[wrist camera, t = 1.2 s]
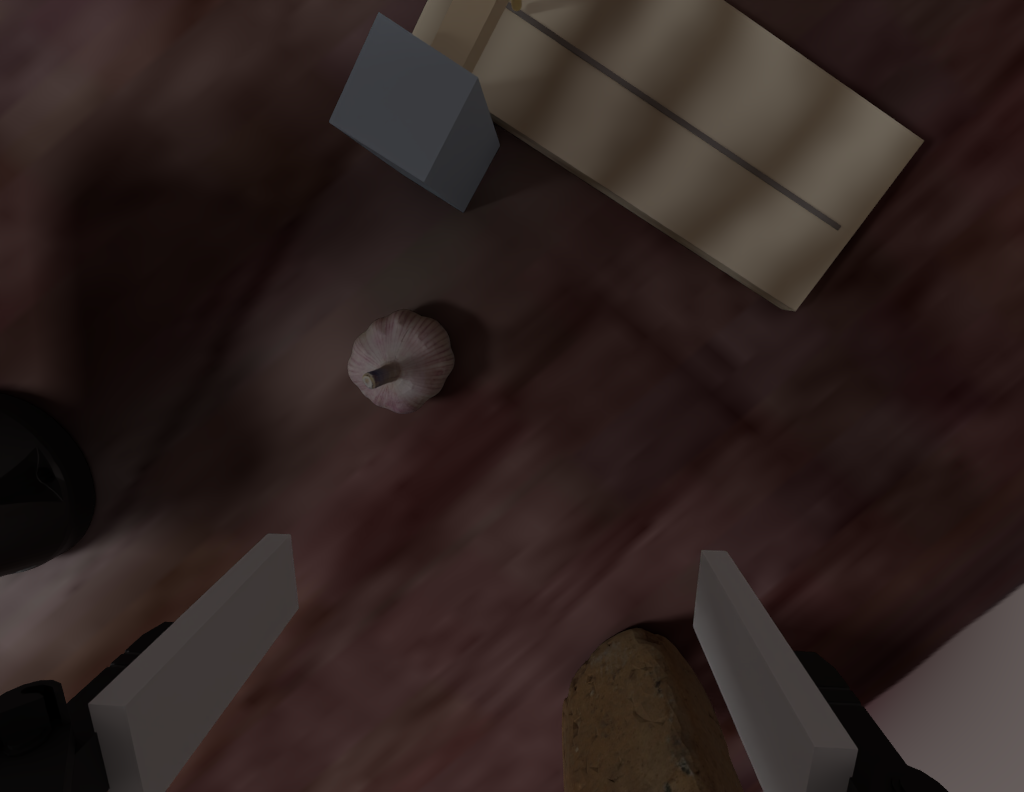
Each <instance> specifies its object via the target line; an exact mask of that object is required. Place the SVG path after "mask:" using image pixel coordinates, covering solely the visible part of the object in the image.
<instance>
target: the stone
mask: <svg viewBox="0 0 1024 792" xmlns="http://www.w3.org/2000/svg"><path fill="white" fill-rule="evenodd" d="M562 748H563V770H564V792H744V791H743V789H742V786H741V784H740V781H739V779H738V777H737V774H736V772H735V769H734V767H733V765H732V762H731V759H730V757H729V752H728V747H727V744H726V741H725V739H724V736H723V733H722V730H721V728H720V725H719V722H718V720H717V717H716V715H715V712H714V710H713V707H712V705H711V703H710V700H709V698H708V696H707V694H706V692H705V690H704V688H703V686H702V684H701V683H700V681H699V680H698V678H697V676H696V675H695V673H694V671H693V670H692V668H691V666H690V665H689V664H688V662H687V661H686V660H685V658H684V657H683V656H682V655H681V653H680V652H679V651H678V650H677V648H676V647H675V646H674V645H673V644H672V643H671V642H670V641H669V640H668V639H667V638H665V637H663V636H661V635H659V634H652V633H650V632H648V631H646V630H644V629H642V628H633V629H629V630H626V631H623V632H621V633H618V634H617V635H615V636H613V637H611V638H610V639H608V640H606V641H605V642H603V643H602V644H601V645H600V646H599V647H598V648H597V649H596V650H595V651H594V652H593V653H592V654H591V656H590V659H589V660H588V661H586V662H585V663H584V664H583V665H582V666H581V667H580V669H579V670H578V671H577V673H576V674H575V677H574V678H573V679H572V682H571V685H570V689H569V694H568V697H567V698H566V699H565V700H564V703H563V713H562Z"/></svg>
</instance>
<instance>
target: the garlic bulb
mask: <svg viewBox="0 0 1024 792" xmlns="http://www.w3.org/2000/svg"><path fill="white" fill-rule="evenodd" d="M454 361H455V358H454V354H453V352H452V349H451V346H450V339H449V335H448V334H447V332H446V330H445V329H444V328H443V327H442V326H441V325H440V324H439V323H438V322H437V321H436V320H434V319H432V318H430V317H423V316H420V315H418V314H417V313H415V312H413V311H411V310H407V309H402V310H398V311H395V312H394V313H392V314H391V315H389V316H386V317H383V318H379V319H377V320H375V321H374V322H373V323H372V324H371V325H370V327H369V328H368V330H367V331H366V332H364V333H363V334H361V335H360V336H359V337H358V338H357V339H356V340H355V342H354V345H353V351H352V355H351V357H350V359H349V362H348V373H349V376H350V378H351V380H352V381H353V382H354V383H355V384H356V385H357V386H358V387H359V388H360V390H361V391H362V393H363V394H364V395H365V396H366V397H367V398H369V399H370V400H371V401H372V402H373V403H374V404H375V405H377V406H379V407H384V408H387V409H389V410H392V411H393V412H396V413H400V414H407V413H411V412H414V411H416V410H418V409H419V408H420V407H421V406H422V405H423V404H424V403H425V402H426V401H427V400H428V399H430V398H431V397H433V396H435V395H436V394H438V393H439V392H440V390H441V389H442V387H443V385H444V382H445V380H446V378H447V377H448V375H449V374H450V373H451V371H452V370H453V367H454Z"/></svg>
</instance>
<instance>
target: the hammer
mask: <svg viewBox="0 0 1024 792" xmlns="http://www.w3.org/2000/svg"><path fill="white" fill-rule="evenodd" d="M508 2H509V0H453V1H452V3H451V5H450V7H449V9H448V11H447V13H446V15H445V17H444V19H443V21H442V23H441V25H440V27H439V29H438V32H437V34H436V36H435V38H434V40H433V42H432V44H431V46H430V45H428V44H427V43H425V42H423V41H422V40H420V39H419V38H417V37H416V36H414V35H413V34H411V33H410V32H408V31H407V30H405V29H404V28H402V27H401V26H399V25H398V24H396V23H395V22H393V21H391V20H390V19H388V18H387V17H385V16H384V15H382V14H381V13H379V12H378V15H377V17H376V19H375V21H374V23H373V26H372V28H371V30H370V32H369V34H368V37H367V39H366V41H365V43H364V45H363V48H362V50H361V52H360V54H359V57H358V59H357V61H356V63H355V65H354V68H353V70H352V72H351V74H350V76H349V79H348V81H347V83H346V85H345V87H344V90H343V92H342V94H341V96H340V98H339V101H338V103H337V105H336V107H335V109H334V112H333V114H332V116H331V118H330V120H329V123H331V124H332V125H333V126H335V127H336V128H338V129H339V130H340V131H342V132H343V133H345V134H346V135H347V136H349V137H350V138H352V139H353V140H355V141H356V142H357V143H359V144H360V145H362V146H363V147H364V148H366V149H367V150H369V151H370V152H371V153H373V154H374V155H376V156H377V157H378V158H380V159H381V160H383V161H384V162H386V163H387V164H388V165H390V166H391V167H393V168H394V169H395V170H397V171H398V172H400V173H401V174H403V175H404V176H406V177H407V178H409V179H411V180H412V181H414V182H415V183H417V184H418V185H420V186H422V187H423V188H425V189H426V190H428V191H430V192H431V193H433V194H434V195H436V196H437V197H439V198H441V199H442V200H444V201H445V202H447V203H449V204H450V205H452V206H453V207H455V208H456V209H458V210H460V211H461V212H463V213H464V211H465V209H466V207H467V206H468V204H469V202H470V200H471V198H472V196H473V194H474V193H475V191H476V189H477V187H478V185H479V183H480V182H481V180H482V178H483V176H484V174H485V172H486V171H487V169H488V167H489V165H490V163H491V161H492V160H493V158H494V156H495V154H496V152H497V150H498V149H499V147H500V143H499V140H498V137H497V134H496V131H495V128H494V125H493V122H492V119H491V116H490V113H489V110H488V106H487V103H486V100H485V97H484V94H483V91H482V88H481V85H480V82H479V79H478V77H477V76H475V75H474V74H472V72H473V70H474V68H475V66H476V64H477V62H478V60H479V58H480V57H481V55H482V53H483V51H484V49H485V47H486V45H487V43H488V41H489V39H490V37H491V35H492V33H493V31H494V29H495V27H496V25H497V23H498V21H499V19H500V17H501V15H502V14H503V12H504V10H505V8H506V6H507V4H508ZM511 5H512V9H513V10H514V11H519V10H520V9H521V7H522V1H521V0H511Z"/></svg>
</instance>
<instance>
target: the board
mask: <svg viewBox="0 0 1024 792" xmlns="http://www.w3.org/2000/svg"><path fill="white" fill-rule="evenodd" d="M452 1H453V0H428V1H427V3H426V5H425V7H424V9H423V12H422V14H421V16H420V18H419V20H418V22H417V24H416V26H415V28H414V31H413V33H412V34H413V35H414V36H416V37H417V38H419V39H420V40H422V41H423V42H425V43H427V44H428V45H430V46H431V44H432V42H433V40H434V38H435V36H436V34H437V32H438V29H439V27H440V25H441V23H442V21H443V19H444V17H445V15H446V13H447V11H448V9H449V7H450V5H451V3H452ZM521 1H522V7H521V9H520V10H519V11H514V10H513V9H512V5H511V0H509V2H508V4H507V6H506V8H505V10H504V12H503V14H502V15H501V17H500V19H499V21H498V23H497V25H496V27H495V29H494V31H493V33H492V35H491V37H490V39H489V41H488V43H487V45H486V47H485V49H484V51H483V53H482V55H481V57H480V58H479V60H478V62H477V64H476V66H475V68H474V70H473V72H472V74H474V75H475V76H477V77H478V79H479V82H480V85H481V88H482V91H483V94H484V97H485V100H486V103H487V106H488V110H489V113H490V116H491V119H492V121H493V122H494V123H496V124H497V125H499V126H501V127H502V128H504V129H505V130H507V131H508V132H510V133H511V134H513V135H514V136H516V137H517V138H519V139H521V140H522V141H524V142H525V143H527V144H528V145H530V146H531V147H533V148H534V149H536V150H537V151H539V152H541V153H542V154H544V155H545V156H547V157H548V158H550V159H551V160H553V161H554V162H556V163H557V164H559V165H561V166H562V167H564V168H565V169H567V170H568V171H570V172H571V173H573V174H574V175H576V176H577V177H579V178H580V179H582V180H584V181H585V182H587V183H588V184H590V185H591V186H593V187H594V188H596V189H597V190H599V191H600V192H602V193H604V194H605V195H607V196H608V197H610V198H611V199H613V200H614V201H616V202H617V203H619V204H620V205H622V206H624V207H625V208H627V209H628V210H630V211H631V212H633V213H634V214H636V215H637V216H639V217H640V218H642V219H644V220H645V221H647V222H648V223H650V224H651V225H653V226H654V227H656V228H657V229H659V230H660V231H662V232H664V233H665V234H667V235H668V236H670V237H671V238H673V239H674V240H676V241H677V242H679V243H680V244H682V245H684V246H685V247H687V248H688V249H690V250H691V251H693V252H694V253H696V254H697V255H699V256H700V257H702V258H703V259H705V260H707V261H708V262H710V263H711V264H713V265H714V266H716V267H717V268H719V269H720V270H722V271H723V272H725V273H727V274H728V275H730V276H731V277H733V278H734V279H736V280H737V281H739V282H740V283H742V284H743V285H745V286H747V287H748V288H750V289H751V290H753V291H754V292H756V293H757V294H759V295H760V296H762V297H763V298H765V299H767V300H768V301H770V302H771V303H773V304H774V305H776V306H777V307H779V308H780V309H783V310H790V311H796V310H797V309H798V307H799V306H800V305H801V303H802V302H803V301H804V299H805V298H806V297H807V296H808V294H809V293H810V292H811V290H812V289H813V288H814V286H815V285H816V284H817V282H818V281H819V280H820V278H821V277H822V276H823V274H824V273H825V272H826V270H827V269H828V268H829V266H830V265H831V264H832V262H833V261H834V260H835V258H836V257H837V256H838V254H839V253H840V252H841V250H842V249H843V248H844V246H845V245H846V244H847V242H848V241H849V240H850V239H851V237H852V236H853V235H854V233H855V232H856V231H857V229H858V228H859V227H860V225H861V224H862V223H863V221H864V220H865V219H866V217H867V216H868V215H869V213H870V212H871V211H872V209H873V208H874V207H875V205H876V204H877V203H878V201H879V200H880V199H881V197H882V196H883V195H884V193H885V192H886V191H887V189H888V188H889V187H890V185H891V184H892V183H893V182H894V180H895V179H896V178H897V176H898V175H899V174H900V172H901V171H902V170H903V168H904V167H905V166H906V164H907V163H908V162H909V160H910V159H911V158H912V156H913V155H914V154H915V152H916V151H917V150H918V148H919V147H920V146H921V144H922V143H923V142H924V140H922V139H921V138H920V137H918V136H917V135H915V134H914V133H912V132H911V131H910V130H908V129H907V128H905V127H904V126H902V125H901V124H900V123H898V122H897V121H895V120H894V119H892V118H891V117H890V116H888V115H887V114H885V113H884V112H882V111H881V110H880V109H878V108H877V107H875V106H874V105H873V104H871V103H870V102H868V101H867V100H865V99H864V98H863V97H861V96H860V95H858V94H857V93H855V92H854V91H853V90H851V89H850V88H848V87H847V86H845V85H844V84H843V83H841V82H840V81H838V80H837V79H835V78H834V77H833V76H831V75H830V74H828V73H827V72H825V71H824V70H823V69H821V68H820V67H818V66H817V65H815V64H814V63H813V62H811V61H810V60H808V59H807V58H805V57H804V56H803V55H801V54H800V53H798V52H797V51H795V50H794V49H793V48H791V47H790V46H788V45H787V44H785V43H784V42H783V41H781V40H780V39H778V38H777V37H775V36H774V35H773V34H771V33H770V32H768V31H767V30H765V29H764V28H763V27H761V26H760V25H758V24H757V23H755V22H754V21H753V20H751V19H750V18H748V17H747V16H745V15H744V14H743V13H741V12H740V11H738V10H737V9H735V8H734V7H733V6H731V5H730V4H728V3H727V2H725V1H724V0H521Z"/></svg>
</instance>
